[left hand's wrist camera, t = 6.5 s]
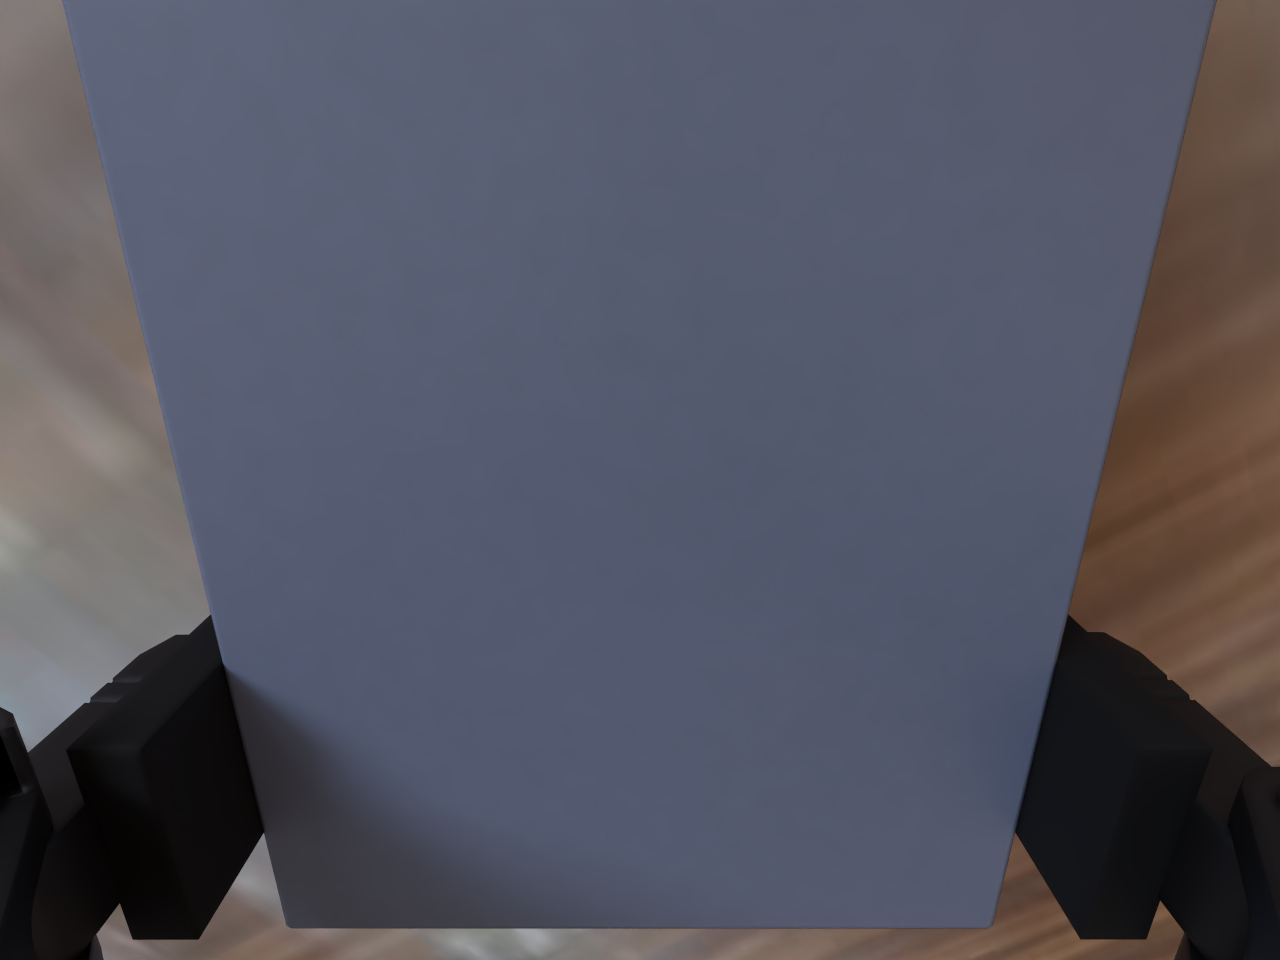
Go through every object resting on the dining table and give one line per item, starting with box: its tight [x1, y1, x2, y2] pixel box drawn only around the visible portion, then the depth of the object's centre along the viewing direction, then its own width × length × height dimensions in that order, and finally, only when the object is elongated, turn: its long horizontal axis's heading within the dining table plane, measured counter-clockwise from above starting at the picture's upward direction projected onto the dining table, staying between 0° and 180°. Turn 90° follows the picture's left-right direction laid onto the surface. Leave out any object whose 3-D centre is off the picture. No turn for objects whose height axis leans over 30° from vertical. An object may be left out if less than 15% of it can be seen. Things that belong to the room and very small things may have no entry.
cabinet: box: [62, 0, 1217, 929], centre depth 11 cm, size 21×10×10 cm, turn 0°
